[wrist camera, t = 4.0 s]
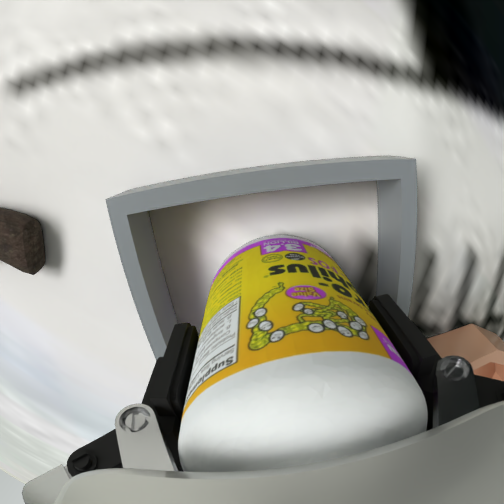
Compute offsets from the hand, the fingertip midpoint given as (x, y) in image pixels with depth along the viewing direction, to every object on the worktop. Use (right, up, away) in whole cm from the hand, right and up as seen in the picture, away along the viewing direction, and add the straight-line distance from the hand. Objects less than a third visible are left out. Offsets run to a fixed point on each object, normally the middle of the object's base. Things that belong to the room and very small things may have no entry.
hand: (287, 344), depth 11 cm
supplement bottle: (0, +2, +4) cm, 4 cm away
